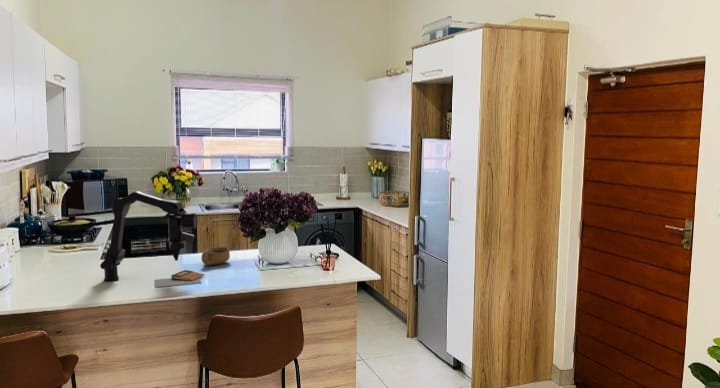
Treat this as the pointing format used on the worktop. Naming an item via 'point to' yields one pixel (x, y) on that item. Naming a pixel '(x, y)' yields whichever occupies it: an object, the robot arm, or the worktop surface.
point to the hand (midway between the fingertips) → (176, 260)
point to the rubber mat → (174, 282)
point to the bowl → (216, 255)
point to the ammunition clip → (186, 275)
